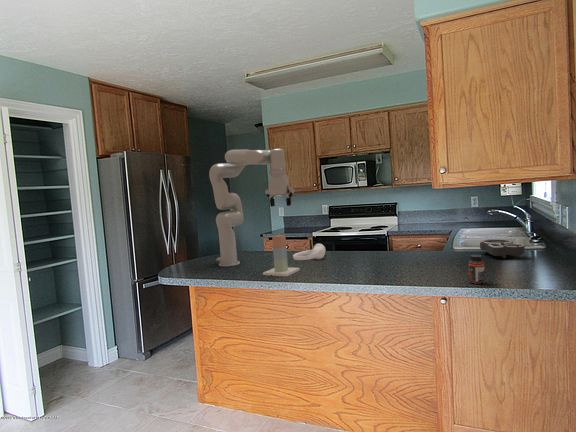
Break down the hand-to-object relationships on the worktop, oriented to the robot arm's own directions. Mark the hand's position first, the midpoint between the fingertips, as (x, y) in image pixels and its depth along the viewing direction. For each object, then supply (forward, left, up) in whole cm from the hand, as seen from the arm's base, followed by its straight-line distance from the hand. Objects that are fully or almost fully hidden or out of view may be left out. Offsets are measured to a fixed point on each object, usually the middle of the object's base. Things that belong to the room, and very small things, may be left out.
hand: (280, 206), depth 211 cm
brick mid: (0, -4, -27) cm, 27 cm away
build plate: (0, -4, -34) cm, 35 cm away
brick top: (0, -4, -21) cm, 21 cm away
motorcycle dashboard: (+99, +57, -35) cm, 119 cm away
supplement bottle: (+92, -3, -34) cm, 98 cm away
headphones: (-3, +35, -35) cm, 50 cm away
